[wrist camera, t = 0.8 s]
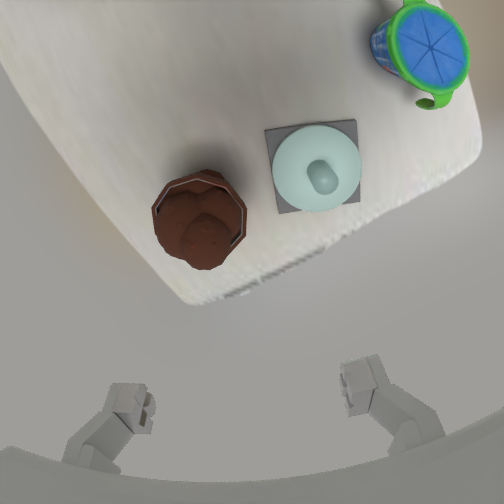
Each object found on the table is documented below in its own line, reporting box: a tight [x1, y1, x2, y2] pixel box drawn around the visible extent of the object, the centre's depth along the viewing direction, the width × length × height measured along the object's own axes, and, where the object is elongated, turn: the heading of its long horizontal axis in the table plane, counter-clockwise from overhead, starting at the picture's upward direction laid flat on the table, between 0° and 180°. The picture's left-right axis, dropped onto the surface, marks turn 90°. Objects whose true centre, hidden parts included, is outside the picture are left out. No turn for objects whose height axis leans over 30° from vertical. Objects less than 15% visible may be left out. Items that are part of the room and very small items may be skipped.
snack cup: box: [370, 0, 470, 110], centre depth 25 cm, size 16×10×10 cm
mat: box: [265, 120, 360, 214], centre depth 39 cm, size 12×12×1 cm
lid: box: [272, 125, 362, 212], centre depth 37 cm, size 12×12×5 cm
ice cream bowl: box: [151, 169, 247, 270], centre depth 35 cm, size 11×11×15 cm
